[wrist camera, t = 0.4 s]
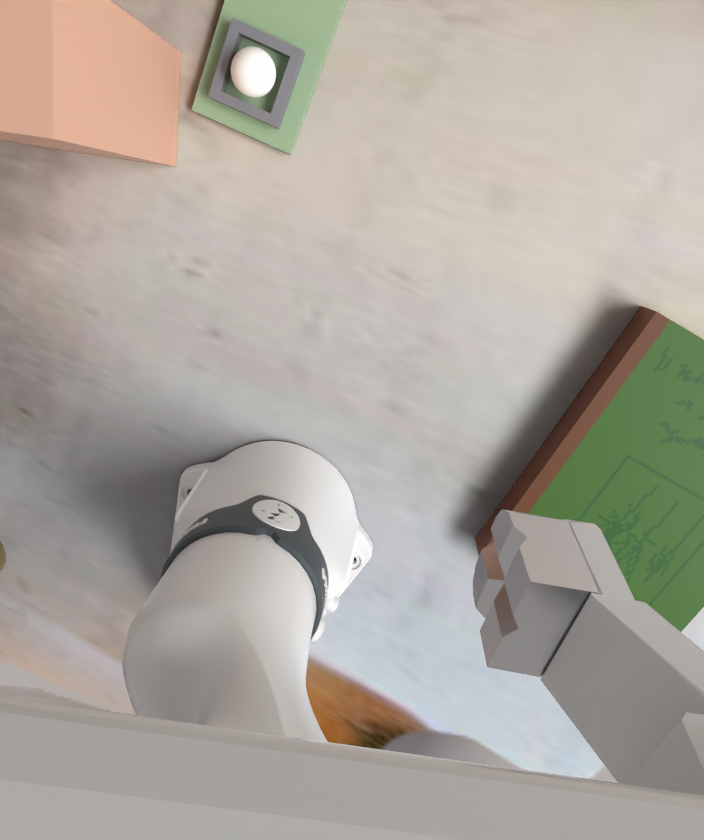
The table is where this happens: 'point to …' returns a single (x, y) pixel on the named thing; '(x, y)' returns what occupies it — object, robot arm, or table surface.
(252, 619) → the robot arm
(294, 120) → the green
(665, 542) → the hardcover book
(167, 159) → the peach rectangular box
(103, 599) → the table surface
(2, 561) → the olive knobbed cone
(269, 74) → the ball
